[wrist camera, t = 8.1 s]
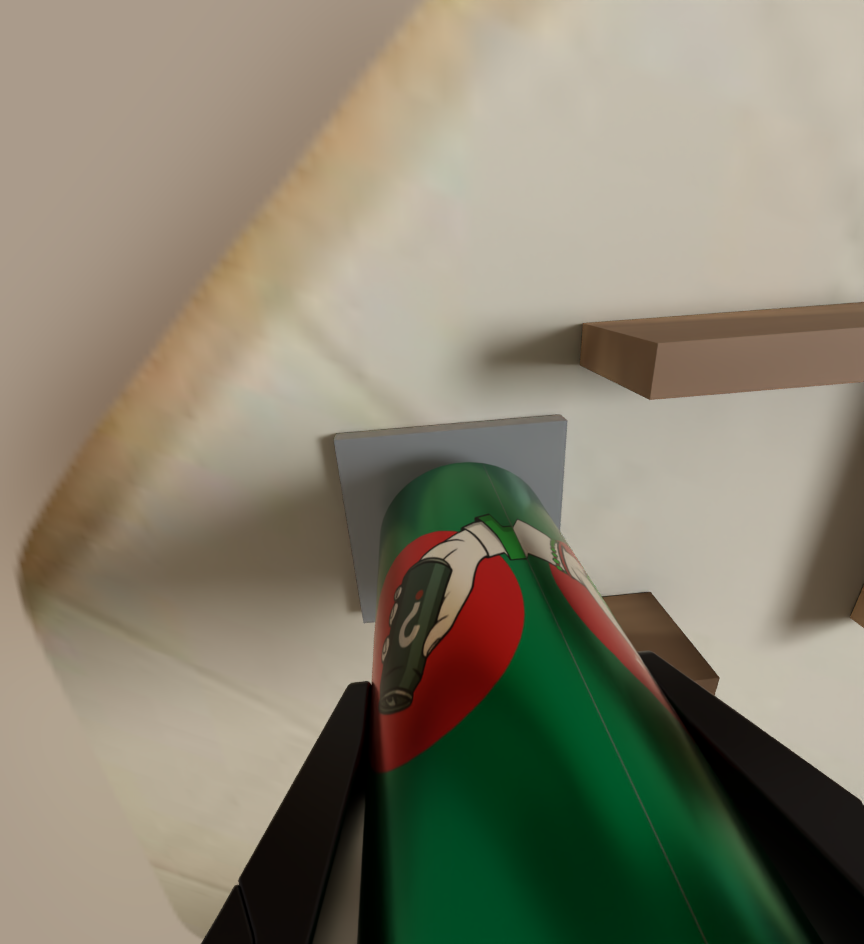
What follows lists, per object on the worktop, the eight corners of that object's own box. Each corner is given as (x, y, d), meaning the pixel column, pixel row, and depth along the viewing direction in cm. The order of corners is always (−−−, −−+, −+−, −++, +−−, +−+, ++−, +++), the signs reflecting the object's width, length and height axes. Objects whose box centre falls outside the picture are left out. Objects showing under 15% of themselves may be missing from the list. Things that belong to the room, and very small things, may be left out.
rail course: (877, 614, 19) (993, 697, 15) (558, 649, 18) (600, 744, 14) (1024, 290, 13) (1257, 296, 10) (582, 323, 13) (658, 343, 9)
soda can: (370, 585, 15) (298, 1518, 4) (393, 442, 13) (381, 1536, 2) (517, 599, 15) (822, 1412, 4) (560, 466, 13) (1312, 1339, 2)
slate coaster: (549, 592, 17) (555, 603, 16) (364, 611, 16) (363, 623, 16) (560, 414, 14) (567, 420, 13) (335, 433, 14) (333, 440, 13)
